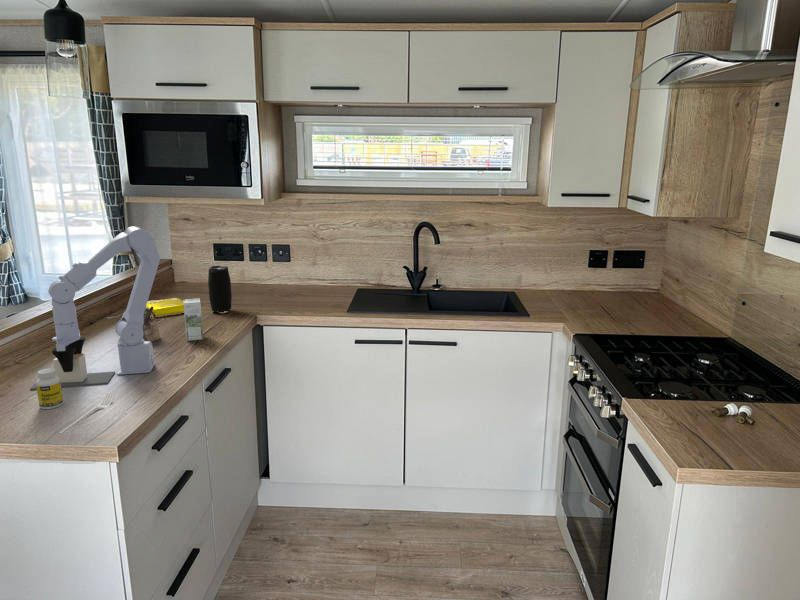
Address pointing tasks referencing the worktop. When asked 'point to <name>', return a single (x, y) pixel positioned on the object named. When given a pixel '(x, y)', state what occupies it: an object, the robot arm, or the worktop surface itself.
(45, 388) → the supplement bottle
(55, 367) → the card box
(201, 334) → the syrup box
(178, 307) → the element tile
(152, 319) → the figurine
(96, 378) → the rubber mat
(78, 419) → the fork
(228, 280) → the portable speaker
